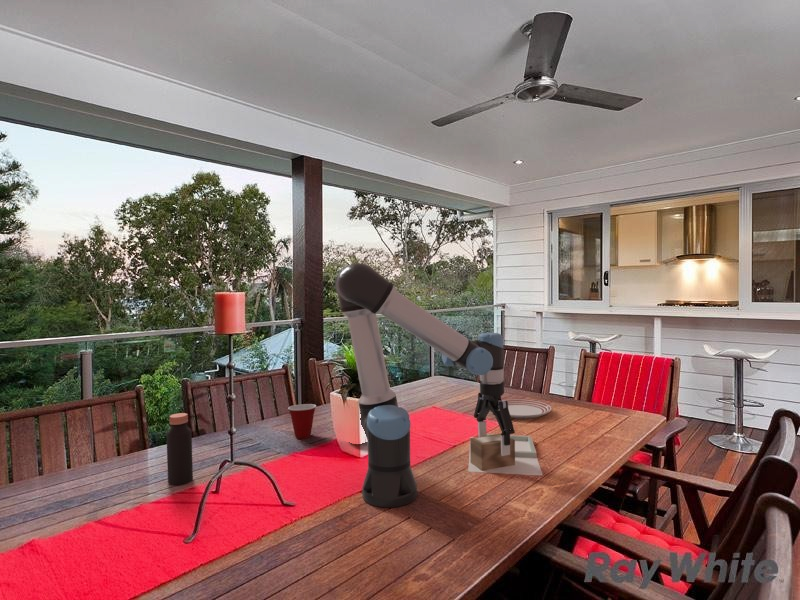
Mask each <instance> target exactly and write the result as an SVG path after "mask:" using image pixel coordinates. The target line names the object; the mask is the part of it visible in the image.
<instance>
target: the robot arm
mask: <svg viewBox="0 0 800 600" xmlns="http://www.w3.org/2000/svg"><path fill="white" fill-rule="evenodd" d="M334 281H335V282H334V288H335V292H336V293H337V297H338V302H339V307H340V313H341V314H343V315H344V316H345V317H346V318H347V322H348V327H349V333H350V337H351V339H350V340H351V343H352V348H353V353H354V358H355V364H356V370H357V375H358V381H359V385H360V386H359V387H360V391H361V396H360V398H359V399H358V401H357V402H358V407H359V413H360V414H361V418H360V420H361V425H362V427H363V429H364V431H365V434H366V437H365V438H366V439H367V470H366V473H365V477H364V481H363V484H362V489H361V491H362V493H361V494H362V495H361V496H362V499H363V501H364V502H365V503H367V504H369V505H371V506H375V507H379V508H397V507H402V506H403V507H404V506H406V505H409V504H411V503H413V501H415V500H416V498H417V497H418V485H417V482H416V479H415V476H414V472H413V470H412V467H411V420H410V414H409V412H408V411H407V409H406V408H404V407H401V406H400V407H399V403H398V399H397V393H396V392H395V391H393V390H392V389H391V388H390V382H389V377H388V372H387V367H386V361H385V355H384V350H383V345H382V339H381V333H380V328H379V323H378V318H377V315H379V314H380V315H382V316H384V318H387V319H388V320H390V321H391V322H392V323H395V324H396V325H397V326H399V327H400V328H402V329H404V330H405V331H406V332H408V333H410V334H411V335H413V336H415V337H416V338H418V339H419V340H421V341H422V342H423V343H425V344H427V345H428V346H430V347H431V348H432V349H435V350H436V351H437V352H439V353H441V360H442V363H443V365H444V366H446V367H457V366H458V367H461V368H462V369H465V370H466V371H467V372H470V373H471V374H472V375H477V376H479V381H480V383H479V392H478V393H477V401H476V407H475V410H474V413H473V417H474V419H476V421H477V431H478V433H477V434H478V435H477V437H481V436H487V434H488V433H487V430H488V428H487V416H488V415H489V413H490V412H491V413H492V414H493V415H494V416H495V418H496V421H497V423H498V426H499V428H500V431H501V433H500V434H501V455H502V456H506V455H510V435H515V433H516V431H515V428H514V423H513V421H512V418H511V417H510V413H509V409H508V402H507V401H502V400H503V399H502V396H503V395H504V394H505V383H504V380H505V379H504V378H505V376H504V375H505V373H504V372H505V371H504V339H503V335H502V334H501V333H499V332H482V333H479V334H478V338H477V339H476V340H475V339H474V340H470V339H469V338H468V337H466V336H464V335H463V334H461V333H460V332H458V331H457V330H455V329H454V328H452V327H451V326H450V325H448V324H446V322H443V321H442V320H441V319H439V318H437V317H436V316H435V315H433V314H431V313H430V312H429V311H427V310H425V309H424V308H423V307H421V306H419V305H418V304H416V303H415V302H413V301H412V300H410V299H409V298H407V297H406V296H405V295H403V294H402V293H400V292H399V291H397V290H396V286H395V284H393V283H392V282H390V281H389V280H387V279H386V278H385V277H383V276H382V275H381V274H380V273H379V272H378V271H376V270H375V269H374V268H372V267H371V266H370V265H368V264H365V263H362V262H354V263H351V264H349V265H347V266H345V267H343V268H342V269H341V270H340V271H339V272H338V274H337V275H336V278H335V280H334ZM503 408H504V409H503Z"/></svg>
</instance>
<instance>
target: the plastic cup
mask: <svg viewBox="0 0 800 600" xmlns="http://www.w3.org/2000/svg"><path fill="white" fill-rule="evenodd" d="M316 407H317V405H316V404H313V403H303V404H301V403H300V404H295V405H290V406H289V407H288V408H287V409H288V411H289V415H290V418H291V423H292V428H293V431H294V436H295V438H296V439H299V440H300V439H301V440H304V439H309V438H310V437H311V435H312V428H313V424H314V423H313V422H314V417H315V416H314V415H315V410H316Z"/></svg>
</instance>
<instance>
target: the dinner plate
mask: <svg viewBox="0 0 800 600" xmlns="http://www.w3.org/2000/svg"><path fill="white" fill-rule="evenodd" d="M501 400H502V401H507V402H508V409H509V413H510V417H511V419H518V420H525V419H526V420H527V419H528V420H529V419H535V418H539V417H542V416H544V415H546V414H548V413H550V412H551V411H552V409H553V408H552V406H551V405H549V404H547V403H545V402H542V401H538V400H529V399H504V400H503V399H501ZM503 409H504V408H503Z"/></svg>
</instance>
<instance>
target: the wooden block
mask: <svg viewBox="0 0 800 600" xmlns="http://www.w3.org/2000/svg"><path fill="white" fill-rule="evenodd" d="M473 437H474V438H470V437H469V438H470V439H469V451H470V457H471V463H472V464H473V465H474V466H476V467H477V468H479V469H480V470H481V471H484V470H489V469H495V468H501V467H507V466H512V465H515V440H514V439H512V438H510V455H506V456H502V455H501V433H497V434H495V435H488V436H481V437H478V436H476V437H475V436H473Z"/></svg>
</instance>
